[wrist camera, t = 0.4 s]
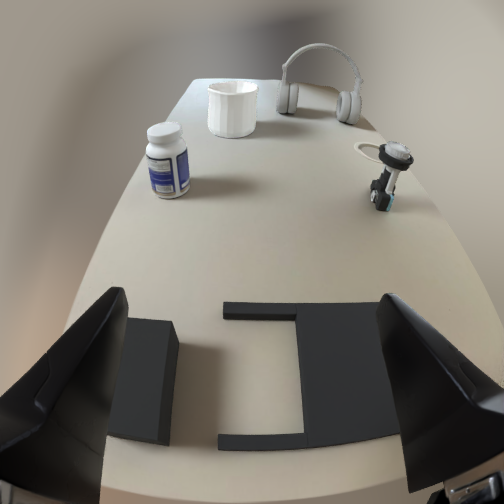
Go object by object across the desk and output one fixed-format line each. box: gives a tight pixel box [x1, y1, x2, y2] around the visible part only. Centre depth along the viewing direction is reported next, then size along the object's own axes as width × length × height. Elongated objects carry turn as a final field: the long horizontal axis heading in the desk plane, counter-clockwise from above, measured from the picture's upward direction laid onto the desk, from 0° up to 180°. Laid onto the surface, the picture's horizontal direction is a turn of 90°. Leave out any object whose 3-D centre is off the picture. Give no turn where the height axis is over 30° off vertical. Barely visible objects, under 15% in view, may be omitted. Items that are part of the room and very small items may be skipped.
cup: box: [208, 81, 259, 138], centre depth 54 cm, size 10×10×10 cm
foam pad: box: [107, 317, 179, 446], centre depth 21 cm, size 10×6×4 cm, turn 0°
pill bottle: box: [146, 122, 190, 199], centre depth 39 cm, size 6×6×10 cm
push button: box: [371, 141, 414, 211], centre depth 40 cm, size 7×5×10 cm
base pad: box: [218, 302, 400, 451], centre depth 24 cm, size 14×18×1 cm
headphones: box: [276, 43, 363, 124], centre depth 60 cm, size 20×8×19 cm, turn 84°
